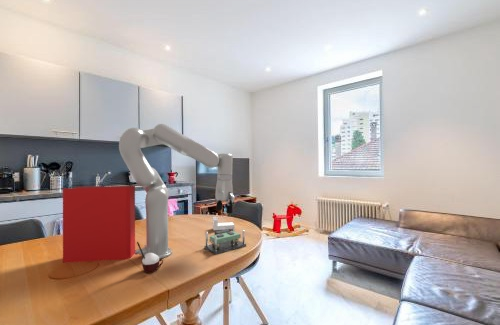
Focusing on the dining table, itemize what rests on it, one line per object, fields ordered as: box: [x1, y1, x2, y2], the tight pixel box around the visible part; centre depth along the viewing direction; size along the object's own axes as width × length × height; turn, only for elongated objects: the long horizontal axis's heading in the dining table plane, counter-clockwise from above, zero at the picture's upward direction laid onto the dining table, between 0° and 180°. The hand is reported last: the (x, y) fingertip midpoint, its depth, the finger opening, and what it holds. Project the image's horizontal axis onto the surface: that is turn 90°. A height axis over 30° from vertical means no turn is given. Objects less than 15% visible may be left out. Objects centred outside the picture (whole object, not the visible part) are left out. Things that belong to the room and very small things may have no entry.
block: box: [214, 229, 231, 235], centre depth 131 cm, size 8×4×4 cm, turn 128°
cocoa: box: [136, 241, 164, 274], centre depth 92 cm, size 10×6×12 cm, turn 101°
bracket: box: [212, 216, 235, 231], centre depth 149 cm, size 13×7×8 cm, turn 102°
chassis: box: [203, 225, 247, 255], centre depth 117 cm, size 18×11×8 cm, turn 128°
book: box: [62, 185, 136, 263], centre depth 105 cm, size 27×8×32 cm, turn 97°
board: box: [209, 230, 242, 244], centre depth 117 cm, size 14×7×3 cm, turn 127°
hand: (224, 211), depth 117 cm, fingers open, 9 cm apart
